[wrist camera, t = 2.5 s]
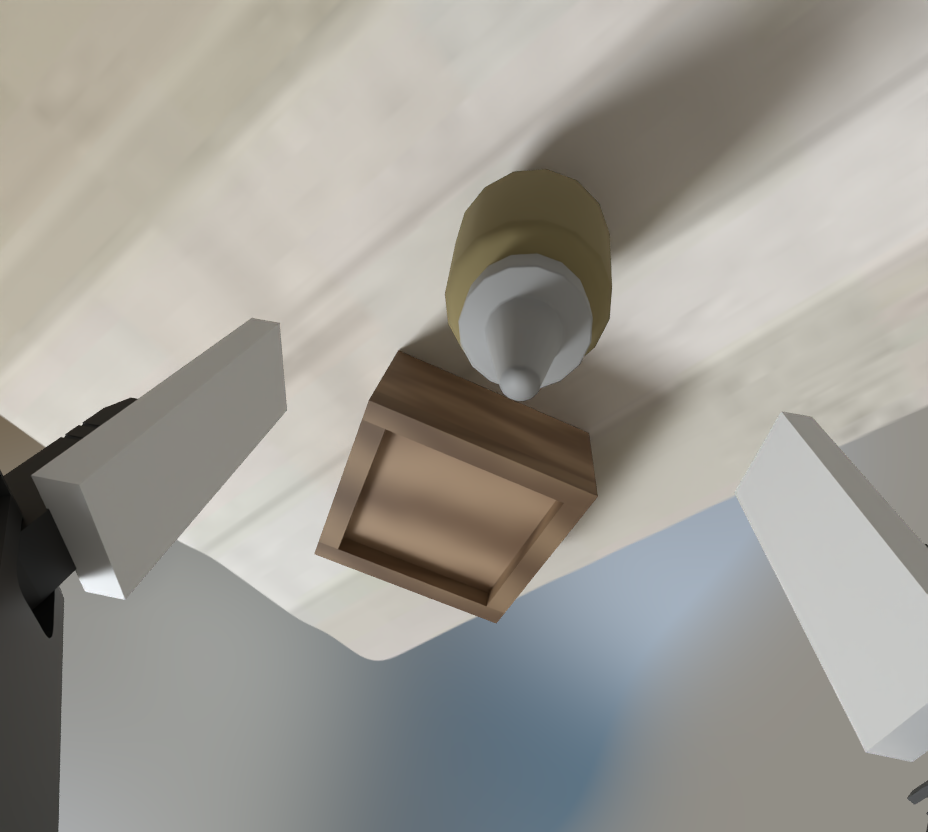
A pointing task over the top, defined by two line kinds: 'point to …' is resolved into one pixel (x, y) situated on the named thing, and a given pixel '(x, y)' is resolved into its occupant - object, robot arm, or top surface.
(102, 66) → the top surface
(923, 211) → the top surface
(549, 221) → the squeeze bottle
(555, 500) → the walnut tray
